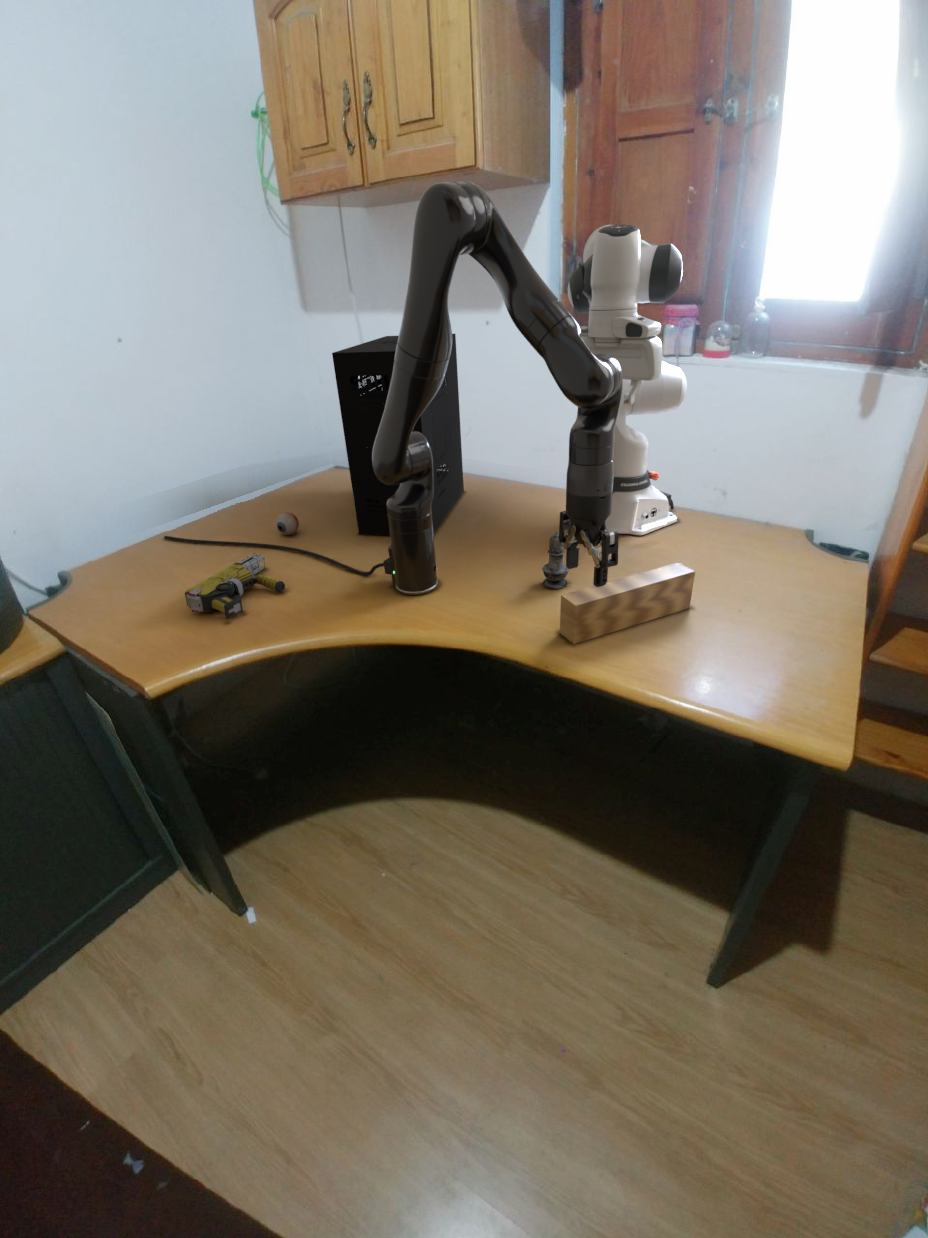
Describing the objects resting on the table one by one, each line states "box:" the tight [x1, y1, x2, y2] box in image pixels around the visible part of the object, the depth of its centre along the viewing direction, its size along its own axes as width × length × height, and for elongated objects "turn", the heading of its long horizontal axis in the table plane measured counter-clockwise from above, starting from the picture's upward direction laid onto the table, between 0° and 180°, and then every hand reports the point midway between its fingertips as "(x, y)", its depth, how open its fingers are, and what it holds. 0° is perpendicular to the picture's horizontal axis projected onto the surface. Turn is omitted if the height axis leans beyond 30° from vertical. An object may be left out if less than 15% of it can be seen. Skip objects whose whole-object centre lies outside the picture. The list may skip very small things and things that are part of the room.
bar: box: [559, 562, 696, 645], centre depth 115 cm, size 27×5×8 cm, turn 115°
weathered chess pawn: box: [541, 530, 570, 589], centre depth 128 cm, size 6×6×12 cm
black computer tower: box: [331, 333, 465, 536], centre depth 165 cm, size 38×20×45 cm, turn 167°
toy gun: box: [184, 552, 286, 620], centre depth 134 cm, size 5×24×15 cm
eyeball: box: [275, 511, 300, 536], centre depth 163 cm, size 6×6×6 cm
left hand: (585, 576), depth 107 cm, fingers open, 8 cm apart
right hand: (606, 401), depth 122 cm, fingers open, 8 cm apart
